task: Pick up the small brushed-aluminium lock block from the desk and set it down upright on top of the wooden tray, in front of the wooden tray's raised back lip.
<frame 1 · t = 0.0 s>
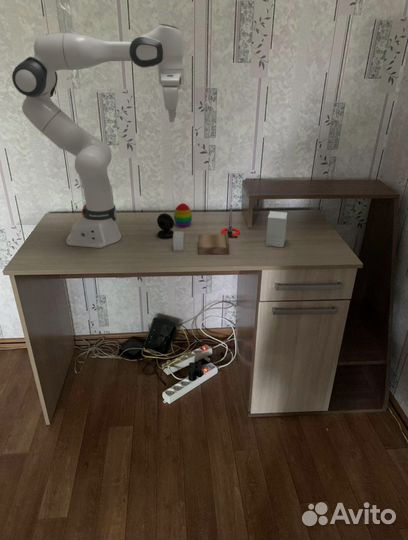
hand: (172, 119, 149), 48 cm above the table, tool pointing down, fingers open, 8 cm apart
wooden tray: (213, 247, 165), on the table
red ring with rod: (230, 233, 177), on the table
supplement box: (275, 243, 169), on the table
aluminium block: (178, 247, 165), on the table
webcam: (166, 235, 175), on the table
decorative egg: (183, 224, 186), on the table
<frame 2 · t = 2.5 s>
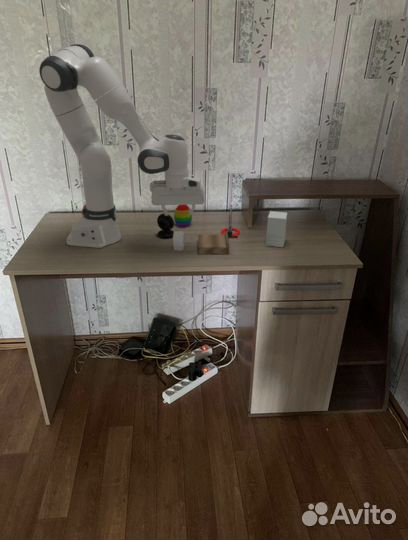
hand: (178, 214, 158), 14 cm above the table, tool pointing down, fingers open, 8 cm apart
nothing on the table moved.
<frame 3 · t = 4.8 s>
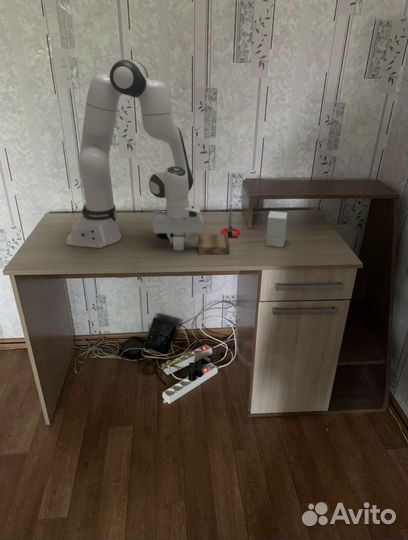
hand: (178, 242, 164), 2 cm above the table, tool pointing down, fingers closed on aluminium block, 4 cm apart
aluminium block: (178, 247, 165), on the table, touching gripper
everything else where it was.
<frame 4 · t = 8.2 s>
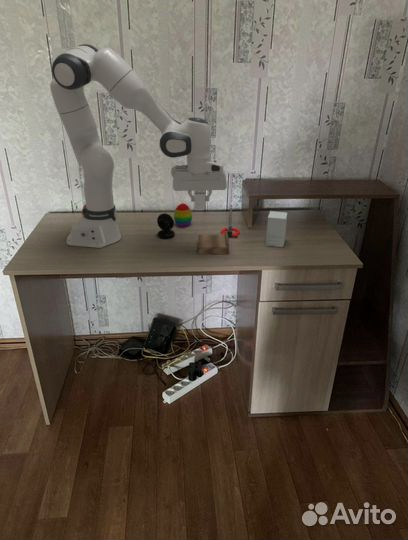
hand: (200, 200, 155), 20 cm above the table, tool pointing down, fingers closed on aluminium block, 4 cm apart
aluminium block: (200, 206, 156), point 18 cm above the table, touching gripper
everything else where it was.
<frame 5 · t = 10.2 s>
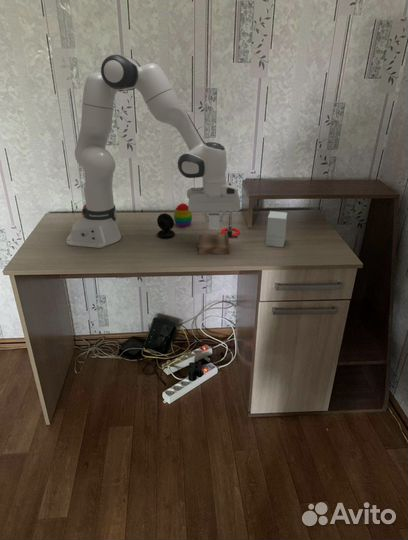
hand: (214, 221, 160), 11 cm above the table, tool pointing down, fingers closed on aluminium block, 4 cm apart
aluminium block: (214, 226, 161), point 9 cm above the table, touching gripper
everything else where it was.
when the fingers open (7 cm above the table, at t = 11.8 s): aluminium block drops 2 cm, resting on wooden tray.
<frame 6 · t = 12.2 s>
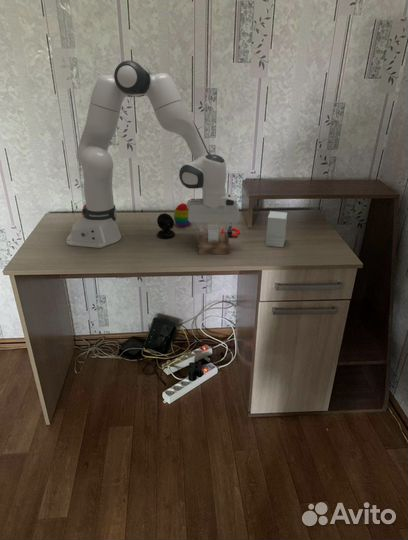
hand: (213, 231, 162), 7 cm above the table, tool pointing down, fingers open, 8 cm apart
aluminium block: (213, 240, 164), point 3 cm above the table, touching wooden tray
everything else where it was.
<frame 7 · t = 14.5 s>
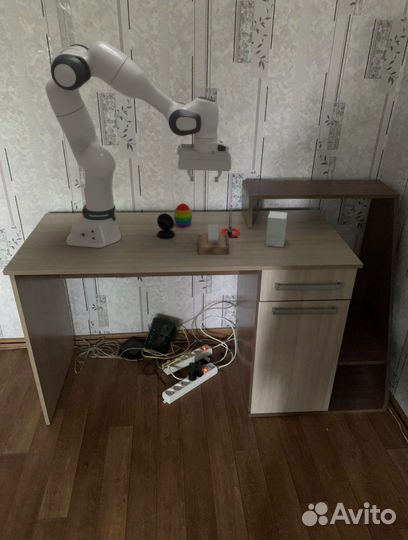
hand: (204, 181, 156), 26 cm above the table, tool pointing down, fingers open, 8 cm apart
nothing on the table moved.
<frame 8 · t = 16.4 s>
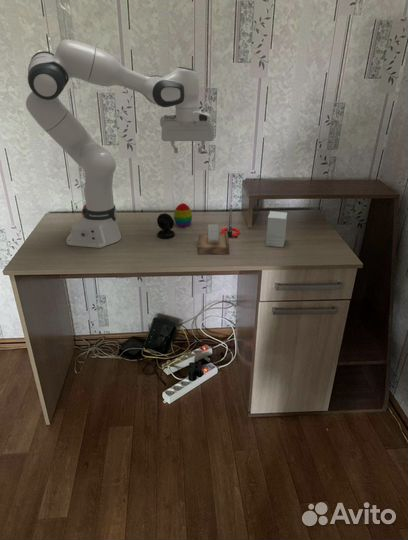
hand: (188, 152, 159), 35 cm above the table, tool pointing down, fingers open, 8 cm apart
nothing on the table moved.
at the end: aluminium block inside the target area on the wooden tray (0.1 cm from its centre), point 3.0 cm above the wooden tray's base; aluminium block tilted 0°; the gripper is holding nothing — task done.
